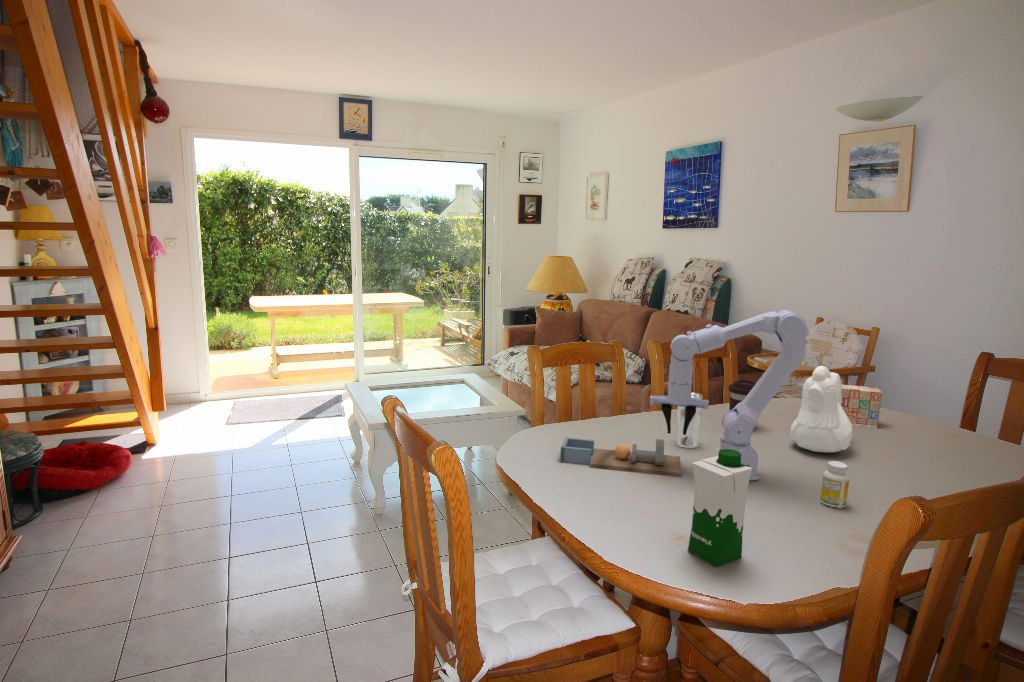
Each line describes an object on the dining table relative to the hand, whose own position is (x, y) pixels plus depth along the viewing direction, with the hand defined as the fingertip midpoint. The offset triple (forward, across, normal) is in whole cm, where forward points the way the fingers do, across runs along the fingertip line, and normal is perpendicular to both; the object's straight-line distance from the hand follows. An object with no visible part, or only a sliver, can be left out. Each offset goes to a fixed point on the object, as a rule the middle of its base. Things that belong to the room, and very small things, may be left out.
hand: (676, 433), depth 160 cm
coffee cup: (+10, -22, -41) cm, 48 cm away
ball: (+6, +14, 0) cm, 15 cm away
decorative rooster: (+10, -43, -29) cm, 53 cm away
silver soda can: (+10, -4, -19) cm, 22 cm away
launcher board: (+9, +10, 0) cm, 14 cm away
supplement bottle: (+10, -35, +13) cm, 39 cm away
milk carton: (+10, -6, +44) cm, 46 cm away
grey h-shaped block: (+8, +7, 0) cm, 11 cm away
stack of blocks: (+10, -55, -58) cm, 80 cm away
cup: (+9, +25, 0) cm, 27 cm away
